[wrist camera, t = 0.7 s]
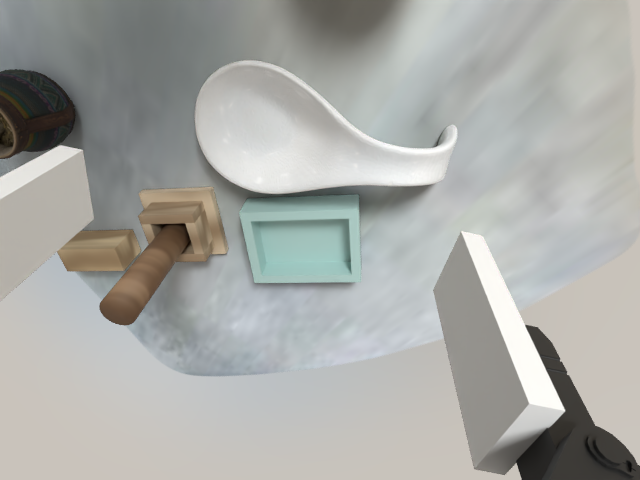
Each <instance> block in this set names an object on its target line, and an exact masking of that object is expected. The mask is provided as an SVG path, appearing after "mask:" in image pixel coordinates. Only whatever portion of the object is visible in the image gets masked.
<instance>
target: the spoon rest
mask: <svg viewBox="0 0 640 480" xmlns="http://www.w3.org/2000/svg"><path fill="white" fill-rule="evenodd" d="M195 130H196V135H197V139H198V142H199V145H200V147H201V149H202V152H203V153H204V155H205V157H206V159H207V160H208V162H209V163H210V164H211V166H212V167H213V168H214V169H215V170H216V171H217V172H218V173H219V174H220V175H222V176H223V177H224V178H225V179H227V180H229V181H230V182H232V183H234V184H235V185H237V186H240V187H242V188H244V189H247V190H250V191H254V192H258V193H267V194H287V193H296V192H303V191H310V190H317V189H323V188H332V187H341V186H357V185H375V186H420V185H430V184H435V183H438V182H440V181H442V180H443V179H444V177H445V174H446V171H447V167H448V163H449V160H450V157H451V154H452V151H453V149H454V146H455V144H456V141H457V128H456V126H455V125H450V126H448V127H447V128H446V129H445V130H444V131H443V133H442V135H441V137H440V139H439V143H438V146H437V147H433V148H406V147H400V146H395V145H391V144H387V143H384V142H381V141H378V140H376V139H374V138H372V137H370V136H368V135H366V134H364V133H363V132H361V131H360V130H358V129H357V128H356V127H354V126H353V125H352V124H351V123H350V122H348V121H347V120H346V119H345V118H344V117H343V116H342V115H341V114H340V113H339V112H338V111H337V110H336V109H335V108H334V107H333V106H332V105H331V104H330V103H329V102H328V101H326V100H325V99H324V98H323V97H322V96H321V95H320V94H319V93H317V92H316V91H315V90H314V89H313V88H312V87H310V86H309V85H308V84H307V83H305V82H304V81H303V80H301V79H300V78H298V77H297V76H295V75H294V74H292V73H290V72H289V71H287V70H285V69H283V68H281V67H279V66H276V65H273V64H270V63H267V62H263V61H258V60H242V61H236V62H232V63H230V64H227V65H225V66H223V67H221V68H219V69H218V70H216V71H215V72H214V73H212V74H211V75H210V76H209V78H208V79H207V80H206V81H205V83H204V84H203V86H202V87H201V89H200V91H199V94H198V97H197V100H196V105H195Z"/></svg>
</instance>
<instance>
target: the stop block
mask: <svg viewBox="0 0 640 480" xmlns="http://www.w3.org/2000/svg"><path fill="white" fill-rule="evenodd" d="M140 252H141V249H140V246H139V244H138V241H137V239H136V236H135V234H134V231H133V230H98V231H80V232H79V233H77V234H76V235H75V236H74V237H73V238H72V239H71V240H70V241H68V242H67V243H66V244H65V245H64V246H63V247H62V248H60V249H59V250H58V251H57V253H58V254H59V256H60V258H61V260H62V262H63V264H64V266H65V267H66V269H67V271H124V270H125V269H126V268H127V267H128V266H129V265H130V263H131V262H132V261H133V260H134V259H135V257H136V256H137V255H138V254H139V253H140Z"/></svg>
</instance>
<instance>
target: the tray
mask: <svg viewBox="0 0 640 480" xmlns="http://www.w3.org/2000/svg"><path fill="white" fill-rule="evenodd" d="M239 215H240V219H241V224H242V228H243V233H244V237H245V242H246V246H247V251H248V255H249V260H250V264H251V269H252V274H253V278H254V283H317V282H361V242H360V212H359V194H356V195H329V196H301V197H273V198H247V200H246V202H245V203H244V205H243V207H242V209H241V211H240V212H239Z"/></svg>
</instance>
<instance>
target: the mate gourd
mask: <svg viewBox="0 0 640 480" xmlns="http://www.w3.org/2000/svg"><path fill="white" fill-rule="evenodd" d="M74 121H75V110H74V105H73V103H72V101H71V100H70V98H69V97H68V96H67V94H66V93H65V91H64V90H63V89H62V88H61V87H60V86H59V85H58V84H57V83H56V82H54V81H53V80H52V79H50V78H48V77H47V76H45V75H43V74H41V73H38V72H34V71H33V72H32V71H26V70H17V69H15V70H5V71H2V72H0V159H5V158H9V157H12V156H13V155H15V154H18V153H20V152H21V151H28V152H38V151H44V150H48V149H51V148H54V147H55V146H57V145H59V144H60V143H61V142H63V141H64V140H65V138H66V137H67V136H68V134H70V133H71V131H72V129H73V126H74Z"/></svg>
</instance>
